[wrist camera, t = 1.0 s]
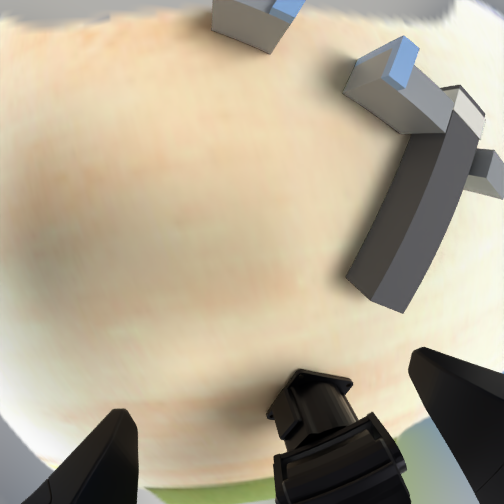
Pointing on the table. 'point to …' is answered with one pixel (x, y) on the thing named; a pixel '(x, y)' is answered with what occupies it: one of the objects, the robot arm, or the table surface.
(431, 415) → the robot arm
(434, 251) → the dark grey long bar
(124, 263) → the table surface
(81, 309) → the table surface
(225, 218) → the table surface
